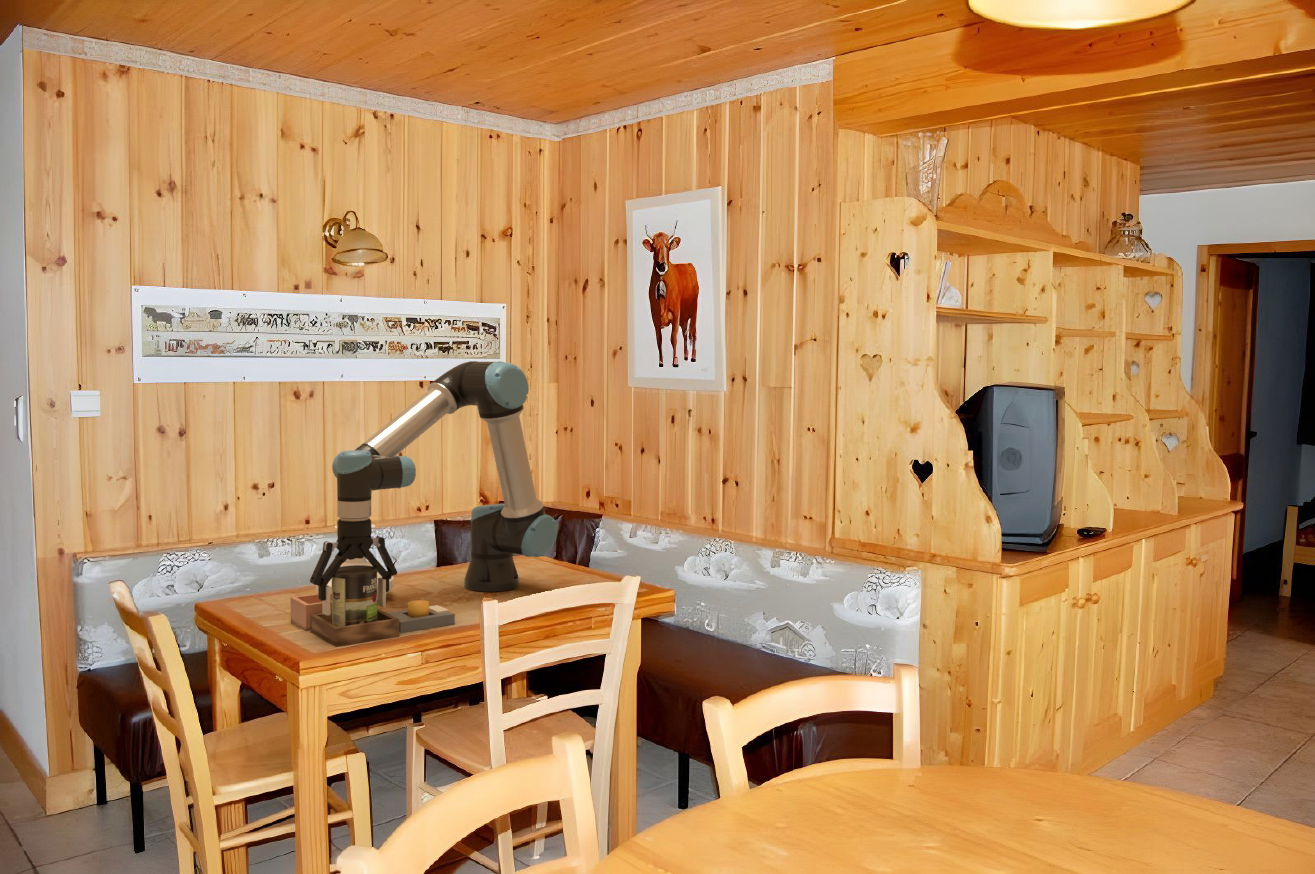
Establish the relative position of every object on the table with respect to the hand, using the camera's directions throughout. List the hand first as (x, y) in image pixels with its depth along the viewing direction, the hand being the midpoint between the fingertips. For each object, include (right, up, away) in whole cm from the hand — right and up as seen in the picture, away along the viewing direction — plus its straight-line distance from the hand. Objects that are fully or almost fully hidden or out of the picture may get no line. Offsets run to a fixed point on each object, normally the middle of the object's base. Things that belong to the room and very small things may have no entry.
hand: (354, 610), depth 241 cm
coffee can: (0, -5, 0) cm, 5 cm away
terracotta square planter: (-11, -5, +9) cm, 15 cm away
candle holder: (-10, -3, +35) cm, 36 cm away
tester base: (+12, -5, +10) cm, 17 cm away
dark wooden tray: (0, -6, 0) cm, 6 cm away
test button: (+12, -4, +10) cm, 17 cm away
